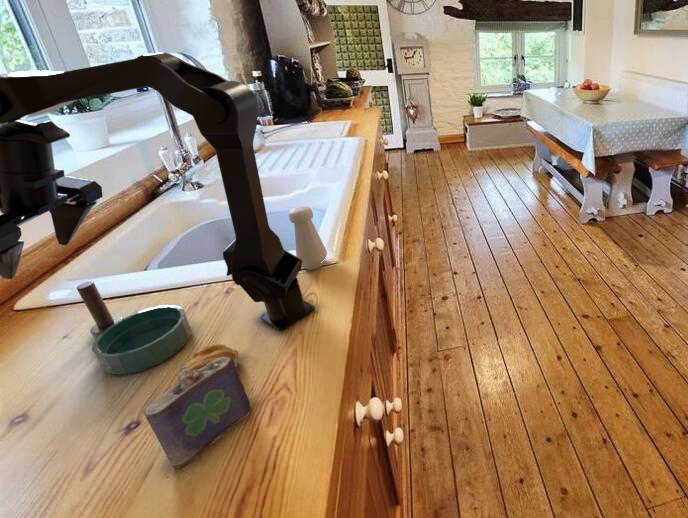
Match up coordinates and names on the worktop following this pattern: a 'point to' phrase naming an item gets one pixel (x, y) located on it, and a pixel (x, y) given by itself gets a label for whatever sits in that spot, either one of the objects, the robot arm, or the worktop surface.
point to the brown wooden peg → (96, 308)
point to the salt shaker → (307, 238)
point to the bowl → (142, 339)
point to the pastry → (211, 356)
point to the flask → (198, 410)
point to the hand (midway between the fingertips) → (38, 260)
